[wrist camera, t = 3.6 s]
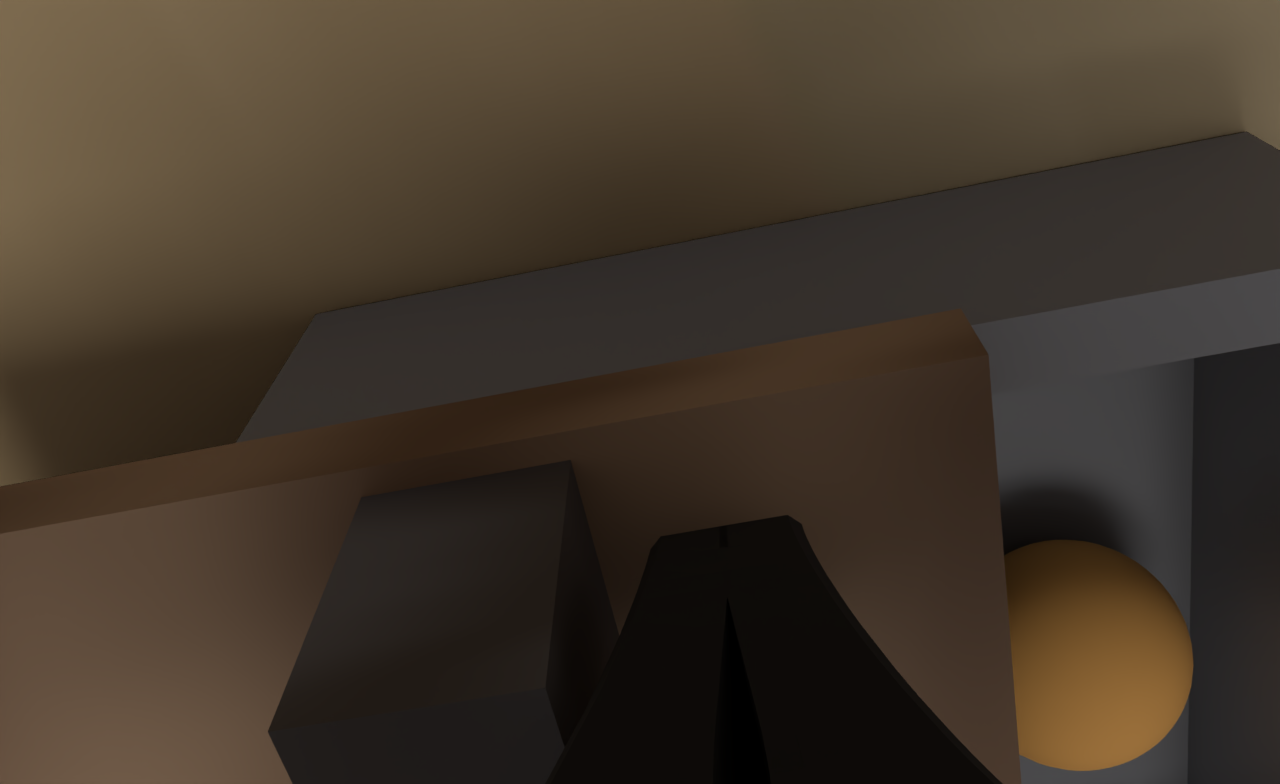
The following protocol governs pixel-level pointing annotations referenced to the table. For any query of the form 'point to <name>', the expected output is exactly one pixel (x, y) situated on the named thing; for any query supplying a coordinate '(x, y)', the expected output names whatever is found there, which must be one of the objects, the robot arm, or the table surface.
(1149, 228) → the storage box
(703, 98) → the table surface
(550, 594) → the lid
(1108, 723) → the ball
